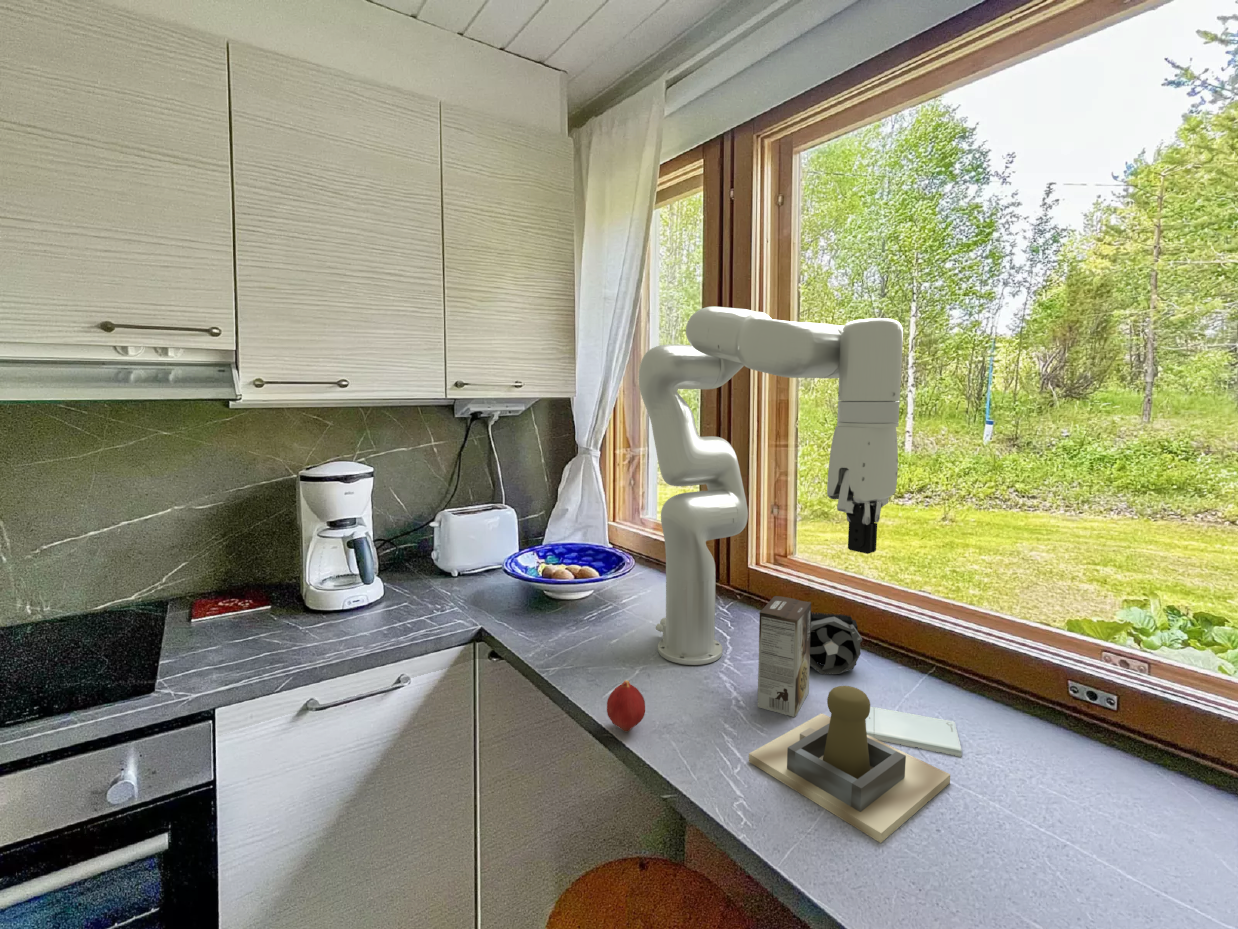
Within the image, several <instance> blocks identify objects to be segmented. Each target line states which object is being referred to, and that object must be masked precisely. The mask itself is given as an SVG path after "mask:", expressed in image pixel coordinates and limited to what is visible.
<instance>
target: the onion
mask: <svg viewBox="0 0 1238 929" xmlns="http://www.w3.org/2000/svg"><path fill="white" fill-rule="evenodd" d="M606 713H607V717H608V718H609V720H610V721H611V723H612V724H613V725H614V726H616V727H618V728H619V729H620V730H622V731H623V732H627V733H628V732H629V731H631V730H632V729H633V728H635V727H636V726H637V725H638V724H640V722H642V720H643V719H644V717H645V713H646V702H645V698H644V696H643V694H642V692H640V690H639V689H638V687H636V686H634V685H633V684H631V683H630V680H626V679H625V680H623V682H622V683H621V684H620V685H618V686H617V687H615V688H614V689H613V690H612V692H611V693H610V695H609V696H608V698H607V701H606Z"/></svg>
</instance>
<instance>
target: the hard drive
mask: <svg viewBox="0 0 1238 929" xmlns="http://www.w3.org/2000/svg"><path fill="white" fill-rule="evenodd" d="M865 723H866V732H867V735H869V736H871V737H873V738H875V739H877V740H879V741H881V742H884V743H885V742H887V743H891V744H896V745H900V744H901V746H906V747H911V748H915V747H918V748H917V749H920V748H922V749H921V750H926V751H930V752H935V751H936V753H939V752H942V753H941V754H944V753H946V755H949V754H951V755H950V756H954V755H955V757H960V758H962V754H963V752H962V746H961V742H960V739H959V733H958V730H957V726H956V722H955V721H952V720H947V719H942V718H936V717H931V716H925V715H920V714H913V713H909V712H904V711H897V710H892V709H885V708H880V707H875V706H870V713H869V716H868V717H867V718H866V719H865Z"/></svg>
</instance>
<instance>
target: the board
mask: <svg viewBox="0 0 1238 929" xmlns="http://www.w3.org/2000/svg"><path fill="white" fill-rule="evenodd" d="M830 718H831V716H829V715H826V714H824V713H819V714H817V715H816V716H814V717H812V718H811V719H808V720H806V721H805V722H804V723H802V724H800V725H798V726H795V727H794V728H792V729H791V730H789V731H787V732H785V733H783V734H782V735H780V736H778V737H776V738H774V739H772V740H770V741H769V742H767V743H765V744H764V745H761V746H760V747H758V748H756V749H755V750H753V751H751V752H749V753H748V762H749V764H751V765H753V766H755V767H756V768H758V769H760V770H762V771H763V772H764V773H767V774H768V775H769V776H771V777H773V778H775V779H776V780H777V781H779V782H781V783H782V784H784V785H786V786H787V787H789V788H791V789H792V790H794V791H796V793H799V794H800V795H802V796H804V797H805V798H806V799H809V800H810V801H812V802H813V803H815V804H817V805H818V806H820V807H822V808H823V809H825V810H826V811H828V812H830V813H831V814H833V815H834V816H836V817H838V818H839V819H841V820H842V821H844V822H846V823H848V824H849V825H851V826H853V827H854V828H856V829H857V830H859V831H860V832H862V833H863V834H865V835H867V836H868V837H870V838H872V839H873V840H875V841H877V842H878V843H880V844H882V843H883V842H884V841H885V840H886V839H887V838H888V837H890V836H891V835H892V834H893V833H894V832H895V831H896V830H898V829H899V828H900V827H901V826H902V825H903V824H904V823H906V822H908V820H909V819H911V818H912V816H914V815H915V814H916V813H918V811H919V810H921V809H922V808H923V807H924V806H925V805H926V804H928V803H929V802H930V801H931V800H932V799H933V798H934V797H936V796H937V795H938V794H939V793H940V792H941V791H942V790H944V789H945V788H946V787H947V786H948V785H950V784H951V773H949V772H946V771H944V770H942V769H940V768H938V767H935V766H934V765H932V764H929V763H927V762H925V761H923V760H921V759H919V758H917V757H915V756H912V755H910V754H908V753H907V752H904V751H902V750H900V749H898V748H896V747H894V746H892V745H889V744H887V743H885V742H884V741H880V740H877V739H875V738H873V737H871V736H869V735H867V742H868V752H869V762H870V771H868V772H867V773H866V774H864V775H863V776H861V777H860V778H859V779H856V778H854V777H852V776H851V775H849V774H847V773H845V772H843V771H841V770H840V769H838V768H836V767H834V766H832V765H830V764H829V763H827V762H825V761H823V756H824V751H825V745H826V740H827V734H828V729H829V724H830ZM928 801H929V802H928ZM927 802H928V803H927Z"/></svg>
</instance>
